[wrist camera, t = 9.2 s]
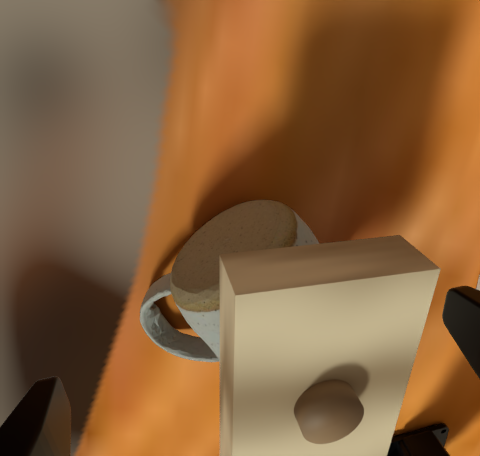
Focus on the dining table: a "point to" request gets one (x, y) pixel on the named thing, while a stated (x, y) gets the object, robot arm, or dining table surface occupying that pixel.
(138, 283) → the dining table surface
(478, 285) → the mat
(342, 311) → the lid
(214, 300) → the ceramic mug
